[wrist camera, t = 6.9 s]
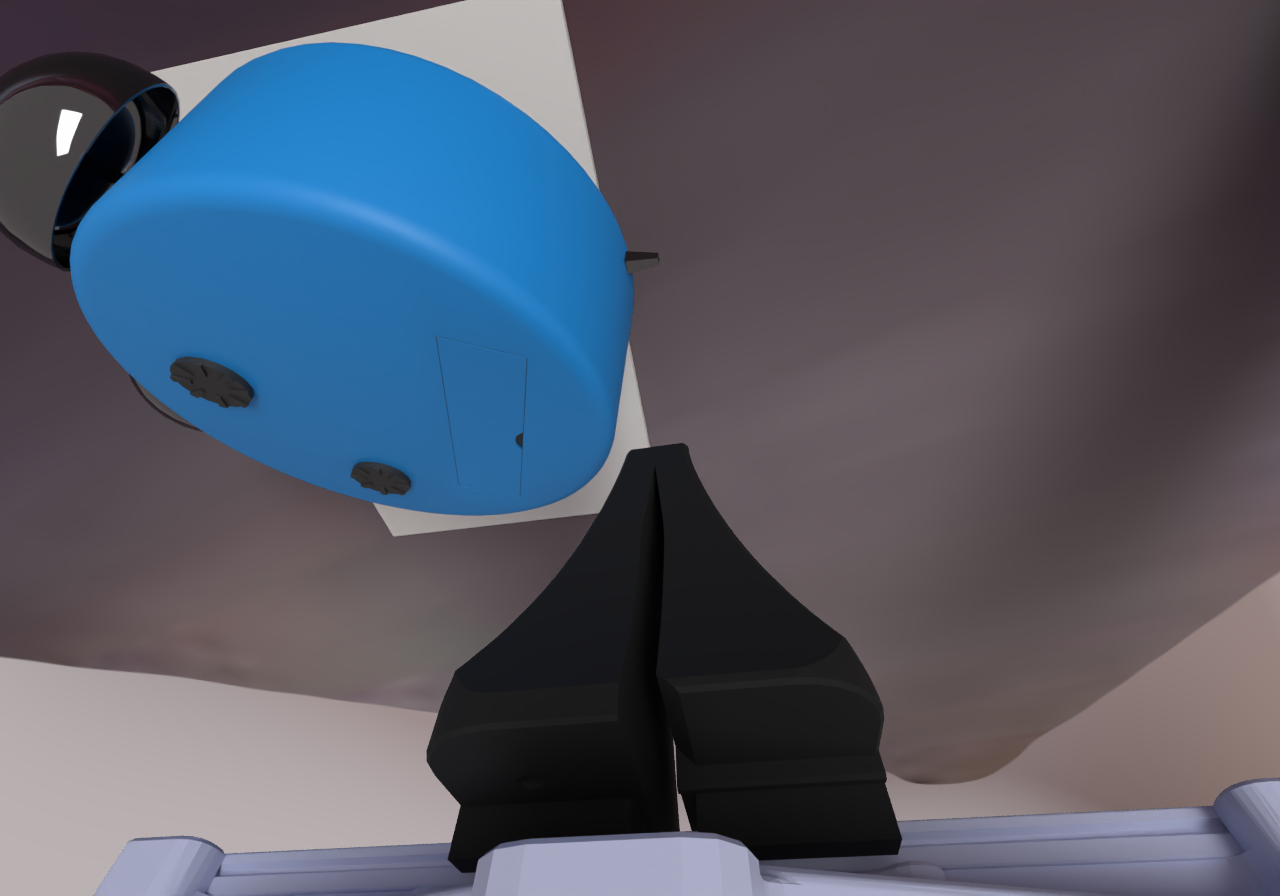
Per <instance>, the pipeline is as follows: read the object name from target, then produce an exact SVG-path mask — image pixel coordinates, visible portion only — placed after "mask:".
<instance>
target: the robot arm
mask: <svg viewBox="0 0 1280 896" xmlns="http://www.w3.org/2000/svg"><path fill="white" fill-rule="evenodd" d="M883 722H884V713H883V706H882V703H881V701H880V698H879V695H878V693H877V691H876V689H875V687H874V685H873V683H872V681H871V679H870V677H869V675H868V673H867V671H866V670H865V668H864V666H863V665H862V663H861V661H860V660H859V658H858V656H857V655H856V653H855V652H854V650H853V649H852V647H851V646H850V644H849V643H848V641H847V640H846V638H844V637H843V636H842V635H840V634H839V633H838V632H836V631H835V630H834V629H832V628H831V627H830V626H828V625H827V624H826V623H824V622H823V621H822V620H821V619H819V618H818V617H817V616H816V615H814V614H813V613H812V612H811V611H809V610H808V609H807V608H806V607H805V606H804V605H802V604H801V603H800V602H799V601H798V600H797V599H795V598H794V597H793V596H792V595H791V594H790V593H789V592H788V591H787V590H786V589H785V588H784V587H782V586H781V585H780V584H779V583H778V582H777V581H776V580H775V579H774V578H773V577H772V576H771V575H770V574H769V573H768V572H767V571H766V570H765V569H764V568H763V567H762V566H761V565H760V564H759V563H758V561H757V560H756V559H755V558H754V557H753V556H752V555H751V554H750V553H749V551H748V550H747V549H746V548H745V547H744V545H743V544H742V543H741V542H740V541H739V539H738V538H737V537H736V535H735V534H734V533H733V532H732V530H731V529H730V528H729V526H728V525H727V523H726V522H725V520H724V519H723V518H722V516H721V515H720V513H719V512H718V510H717V509H716V507H715V506H714V504H713V502H712V501H711V499H710V497H709V496H708V494H707V492H706V490H705V489H704V487H703V485H702V483H701V481H700V479H699V477H698V475H697V473H696V471H695V469H694V466H693V464H692V461H691V458H690V454H689V449H688V446H686V445H685V444H683V443H679V444H672V445H664V446H656V447H648V448H640V449H632V450H630V451H629V452H628V454H627V455H626V458H625V461H624V463H623V466H622V468H621V470H620V473H619V475H618V477H617V479H616V481H615V484H614V486H613V488H612V490H611V492H610V494H609V496H608V497H607V499H606V501H605V503H604V505H603V507H602V509H601V511H600V512H599V514H598V516H597V518H596V519H595V521H594V522H593V524H592V526H591V527H590V529H589V531H588V532H587V534H586V535H585V537H584V539H583V540H582V542H581V543H580V545H579V546H578V547H577V549H576V550H575V552H574V553H573V555H572V556H571V557H570V559H569V560H568V561H567V563H566V564H565V565H564V567H563V568H562V569H561V570H560V572H559V573H558V574H557V575H556V577H555V578H554V579H553V580H552V581H551V582H550V584H549V585H548V586H547V587H546V588H545V590H544V591H543V592H542V593H541V594H540V595H539V596H538V597H537V599H536V600H535V601H534V602H533V603H532V604H531V605H530V606H529V607H528V608H527V609H526V610H525V611H524V612H523V613H522V614H521V615H520V616H519V617H518V618H517V619H516V620H515V621H514V622H513V623H512V624H511V625H510V626H509V627H508V628H507V629H506V630H504V631H503V632H502V633H501V634H500V635H499V636H498V637H497V638H496V639H494V640H493V641H492V642H491V643H490V644H488V645H487V646H486V647H485V648H483V649H482V650H481V651H480V652H479V653H477V654H476V655H475V656H474V657H472V658H471V659H470V660H469V661H468V662H466V663H465V664H464V665H463V666H461V667H460V668H459V669H457V670H456V671H455V673H454V676H453V678H452V681H451V683H450V685H449V687H448V689H447V692H446V694H445V696H444V699H443V702H442V704H441V707H440V710H439V713H438V716H437V720H436V723H435V726H434V729H433V732H432V736H431V739H430V742H429V745H428V748H427V763H428V764H429V766H430V768H431V769H432V771H433V773H434V774H435V776H436V777H437V778H438V779H439V781H440V782H441V783H442V784H443V785H444V786H445V787H446V789H447V790H448V791H449V792H450V793H451V794H452V796H453V797H454V798H455V799H456V800H457V801H458V802H459V804H460V805H461V807H460V810H459V815H458V819H457V823H456V827H455V831H454V835H453V839H452V843H438V844H417V845H398V846H376V847H355V848H335V849H314V850H296V851H295V850H293V851H274V852H252V853H232V854H224V852H223V850H222V849H221V848H219V847H218V846H217V845H215V844H214V843H212V842H210V841H207V840H205V839H202V838H198V837H193V836H171V837H152V838H136V839H133V840H131V841H129V842H128V843H127V844H126V846H125V847H124V849H123V850H122V852H121V853H120V855H119V856H118V858H117V860H116V861H115V863H114V864H113V866H112V867H111V869H110V871H109V872H108V873H107V875H106V877H105V878H104V880H103V881H102V883H101V884H100V886H99V887H98V889H97V891H96V892H95V894H94V895H93V896H1280V778H1261V779H1254V780H1247V781H1243V782H1240V783H1237V784H1234V785H1231V786H1230V787H1228V788H1227V789H1225V790H1223V791H1222V792H1221V793H1220V794H1219V796H1218V797H1217V798H1216V800H1215V802H1214V804H1213V806H1201V807H1200V806H1199V807H1178V808H1158V809H1137V810H1118V811H1096V812H1075V813H1055V814H1035V815H1013V816H993V817H974V818H973V817H972V818H952V819H931V820H912V821H897V820H896V817H895V814H894V811H893V808H892V804H891V801H890V798H889V795H888V792H887V788H886V785H885V783H886V780H887V777H886V772H885V769H884V766H883V762H882V759H881V756H880V753H879V745H880V739H881V733H882V728H883ZM673 738H674V742H675V745H676V767H677V787H678V793H679V794H681V796H682V799H683V802H684V806H685V809H686V813H687V816H688V819H689V823H690V826H691V830H692V831H685V832H680V829H679V815H678V803H677V789H676V775H675V760H674V746H673Z"/></svg>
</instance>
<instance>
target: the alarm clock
mask: <svg viewBox="0 0 1280 896" xmlns="http://www.w3.org/2000/svg"><path fill="white" fill-rule="evenodd" d="M179 119H180V100H179V97H178V94H177V92H176V90H175V89H174V88H173V87H172V86H171V85H170V84H168V83H166V82H165V81H163V80H162V79H160V78H159V77H157V76H156V75H154V74H152V73H150V72H148V71H146V70H145V69H143V68H141V67H139V66H137V65H135V64H133V63H130V62H127V61H124V60H121V59H118V58H114V57H111V56H108V55H105V54H100V53H90V52H80V51H77V52H62V53H54V54H46V55H43V56H40V57H37V58H34V59H32V60H29V61H27V62H24V63H22V64H20V65H18V66H16V67H14V68H12V69H10V70H9V71H7V72H6V73H5V74H4V75H2V76H1V77H0V232H1V233H2V234H3V235H5V236H6V237H7V238H8V239H9V240H10V241H11V242H13V243H14V244H15V245H16V246H17V247H18V248H20V249H22V250H24V251H25V252H27V253H29V254H31V255H32V256H34V257H36V258H38V259H39V260H41V261H43V262H45V263H47V264H49V265H51V266H53V267H55V268H58V269H60V270H62V271H71V278H72V283H73V287H74V290H75V293H76V297H77V300H78V303H79V305H80V307H81V309H82V312H83V314H84V316H85V318H86V320H87V321H88V323H89V325H90V326H91V328H92V329H93V331H94V333H95V334H96V336H97V337H98V338H99V340H100V341H101V342H102V344H103V345H104V346H105V347H106V349H107V350H108V351H109V353H110V354H111V355H112V356H113V357H114V358H115V359H116V360H117V361H118V362H119V363H120V365H121V366H122V367H123V368H124V369H125V370H126V371H127V372H128V373H129V376H130V379H131V381H132V383H133V384H134V386H135V387H136V389H137V391H138V392H139V394H140V395H141V396H142V397H143V398H144V400H145V401H146V402H147V403H148V404H149V405H150V406H151V407H152V408H153V409H155V410H156V411H157V412H159V413H160V414H161V415H163V416H164V417H166V418H168V419H170V420H172V421H174V422H176V423H178V424H180V425H182V426H184V427H187V428H190V429H193V430H196V431H201V432H205V433H207V434H208V435H210V436H212V437H213V438H215V439H217V440H218V441H220V442H222V443H224V444H226V445H227V446H229V447H231V448H233V449H235V450H237V451H238V452H240V453H242V454H244V455H246V456H248V457H250V458H252V459H254V460H256V461H258V462H261V463H263V464H265V465H267V466H269V467H271V468H274V469H276V470H278V471H281V472H283V473H285V474H288V475H290V476H293V477H295V478H298V479H300V480H303V481H305V482H308V483H311V484H314V485H316V486H319V487H322V488H325V489H328V490H331V491H334V492H337V493H340V494H344V495H347V496H351V497H354V498H358V499H361V500H365V501H369V502H373V503H377V504H382V505H386V506H391V507H396V508H401V509H407V510H413V511H420V512H427V513H436V514H447V515H464V516H484V515H500V514H510V513H516V512H522V511H527V510H532V509H536V508H540V507H543V506H546V505H550V504H553V503H555V502H558V501H560V500H562V499H565V498H566V497H568V496H570V495H572V494H574V493H575V492H577V491H578V490H580V489H581V488H582V487H584V486H585V485H586V484H587V483H588V482H589V481H590V480H592V479H593V478H594V477H595V476H596V475H597V473H598V472H599V471H600V469H601V468H602V467H603V465H604V464H605V462H606V460H607V458H608V456H609V453H610V451H611V448H612V445H613V441H614V437H615V431H616V424H617V417H618V410H619V403H620V396H621V390H622V383H623V376H624V369H625V362H626V355H627V349H628V342H629V335H630V328H631V321H632V314H633V306H634V283H633V275H632V273H633V272H637V271H640V270H643V269H646V268H650V267H653V266H656V265H659V260H660V259H659V255H658V253H649V252H629V251H628V250H627V246H626V243H625V241H624V238H623V235H622V232H621V230H620V227H619V225H618V223H617V221H616V219H615V217H614V215H613V213H612V211H611V209H610V207H609V206H608V204H607V202H606V201H605V199H604V197H603V196H602V194H601V192H600V191H599V189H598V188H597V186H596V185H595V184H594V182H593V181H592V180H591V178H590V177H589V176H588V174H587V173H586V171H585V170H584V169H583V168H582V167H581V166H580V164H579V163H578V162H577V161H576V160H575V159H574V158H573V156H572V155H571V154H570V153H569V152H568V151H567V150H566V149H565V148H564V147H563V146H562V145H561V144H560V143H559V142H558V141H557V140H556V139H555V138H554V137H553V136H552V135H551V134H550V133H549V132H548V131H547V130H545V129H544V128H543V127H542V126H540V125H539V124H538V123H537V122H536V121H534V120H533V119H532V118H531V117H529V116H528V115H527V114H526V113H525V112H523V111H522V110H520V109H519V108H517V107H516V106H514V105H513V104H512V103H510V102H509V101H507V100H506V99H504V98H503V97H501V96H500V95H498V94H497V93H495V92H493V91H491V90H490V89H488V88H486V87H484V86H483V85H481V84H479V83H477V82H476V81H474V80H472V79H470V78H468V77H466V76H464V75H461V74H459V73H457V72H455V71H453V70H451V69H449V68H447V67H444V66H442V65H439V64H436V63H433V62H431V61H428V60H425V59H423V58H420V57H417V56H414V55H410V54H406V53H403V52H399V51H395V50H391V49H388V48H382V47H376V46H369V45H363V44H355V43H336V42H327V43H312V44H302V45H297V46H293V47H288V48H283V49H279V50H277V51H274V52H271V53H268V54H266V55H263V56H260V57H258V58H255V59H253V60H251V61H249V62H248V63H246V64H244V65H242V66H241V67H239V68H237V69H235V70H234V71H233V72H232V73H231V74H230V75H228V76H227V77H226V78H225V79H224V80H222V81H221V82H220V83H219V84H218V85H217V86H216V87H215V88H214V89H213V90H212V91H211V92H210V93H209V94H208V95H207V96H206V97H205V98H204V99H202V100H201V101H200V102H199V103H198V104H197V105H196V106H195V107H194V108H193V109H192V110H191V111H190V112H189V113H188V114H187V115H186V116H185V117H184V118H183V119H182V120H181V121H180V122H179Z"/></svg>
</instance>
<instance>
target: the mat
mask: <svg viewBox="0 0 1280 896" xmlns="http://www.w3.org/2000/svg"><path fill="white" fill-rule="evenodd" d="M327 42H336V43H355V44H363V45H369V46H376V47H382V48H388V49H391V50H395V51H399V52H403V53H406V54H410V55H414V56H417V57H420V58H423V59H425V60H428V61H431V62H433V63H436V64H439V65H442V66H444V67H447V68H449V69H451V70H453V71H455V72H457V73H459V74H461V75H464V76H466V77H468V78H470V79H472V80H474V81H476V82H477V83H479V84H481V85H483V86H484V87H486V88H488V89H490V90H491V91H493V92H495V93H497V94H498V95H500V96H501V97H503V98H504V99H506V100H507V101H509V102H510V103H512V104H513V105H514V106H516V107H517V108H519V109H520V110H522V111H523V112H525V113H526V114H527V115H528V116H529V117H531V118H532V119H533V120H534V121H536V122H537V123H538V124H539V125H540V126H542V127H543V128H544V129H545V130H547V131H548V132H549V133H550V134H551V135H552V136H553V137H554V138H555V139H556V140H557V141H558V142H559V143H560V144H561V145H562V146H563V147H564V148H565V149H566V150H567V151H568V152H569V153H570V154H571V155H572V156H573V158H574V159H575V160H576V161H577V162H578V163H579V164H580V166H581V167H582V168H583V169H584V170H585V171H586V173H587V174H588V176H589V177H590V178H591V180H592V181H593V182H594V184H595V185H596V186H597V188H598V189H599V185H598V180H597V175H596V170H595V165H594V160H593V155H592V150H591V145H590V140H589V135H588V129H587V124H586V119H585V114H584V109H583V104H582V99H581V94H580V89H579V84H578V79H577V74H576V69H575V64H574V59H573V54H572V49H571V43H570V38H569V33H568V28H567V23H566V18H565V13H564V8H563V3H562V0H466V1H462V2H457V3H453V4H448V5H444V6H440V7H435V8H431V9H426V10H422V11H418V12H413V13H409V14H404V15H400V16H396V17H391V18H387V19H383V20H378V21H374V22H369V23H365V24H361V25H356V26H352V27H347V28H343V29H339V30H334V31H330V32H325V33H321V34H317V35H312V36H308V37H303V38H299V39H295V40H290V41H286V42H281V43H277V44H273V45H268V46H264V47H260V48H255V49H251V50H246V51H242V52H238V53H233V54H229V55H224V56H220V57H216V58H211V59H207V60H202V61H198V62H194V63H189V64H185V65H180V66H176V67H172V68H167V69H163V70H159V71H154V72H150V73H152V74H154V75H156V76H157V77H159V78H160V79H162V80H163V81H165V82H166V83H168V84H170V85H171V86H172V87H173V88H174V89H175V90H176V92H177V94H178V97H179V100H180V119H179V122H180V121H181V120H182V119H183V118H184V117H185V116H186V115H187V114H188V113H189V112H190V111H191V110H192V109H193V108H194V107H195V106H196V105H197V104H198V103H199V102H200V101H201V100H202V99H204V98H205V97H206V96H207V95H208V94H209V93H210V92H211V91H212V90H213V89H214V88H215V87H216V86H217V85H218V84H219V83H220V82H221V81H222V80H224V79H225V78H226V77H227V76H228V75H230V74H231V73H232V72H233V71H234V70H235V69H237V68H239V67H241V66H242V65H244V64H246V63H248V62H249V61H251V60H253V59H255V58H258V57H260V56H263V55H266V54H268V53H271V52H274V51H277V50H279V49H283V48H288V47H293V46H297V45H302V44H312V43H327ZM599 191H600V190H599ZM648 447H650V443H649V438H648V433H647V428H646V423H645V418H644V413H643V408H642V403H641V398H640V393H639V388H638V382H637V377H636V372H635V367H634V362H633V357H632V352H631V347H630V342H628V349H627V355H626V362H625V369H624V376H623V383H622V390H621V396H620V403H619V410H618V417H617V424H616V431H615V437H614V441H613V445H612V448H611V451H610V453H609V456H608V458H607V460H606V462H605V464H604V465H603V467H602V468H601V469H600V471H599V472H598V473H597V475H596V476H595V477H594V478H593V479H592V480H590V481H589V482H588V483H587V484H586V485H585V486H584V487H582V488H581V489H580V490H578V491H577V492H575V493H574V494H572V495H570V496H568V497H566V498H565V499H562V500H560V501H558V502H555V503H553V504H550V505H546V506H543V507H540V508H536V509H532V510H527V511H522V512H516V513H510V514H500V515H484V516H464V515H447V514H436V513H427V512H420V511H413V510H407V509H401V508H396V507H391V506H386V505H382V504H377V503H373V504H374V505H375V507H376V509H377V510H378V512H379V514H380V515H381V517H382V518H383V520H384V522H385V523H386V525H387V527H388V528H389V530H390V531H391V533H392V535H393V536H402V535H411V534H420V533H429V532H437V531H446V530H455V529H464V528H473V527H481V526H490V525H499V524H508V523H516V522H525V521H534V520H543V519H551V518H560V517H569V516H578V515H586V514H595V513H599V512H600V511H601V509H602V507H603V505H604V503H605V501H606V499H607V497H608V496H609V494H610V492H611V490H612V488H613V486H614V484H615V481H616V479H617V477H618V475H619V473H620V470H621V468H622V466H623V463H624V461H625V458H626V455H627V454H628V452H629V451H630V450H632V449H640V448H648Z"/></svg>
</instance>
